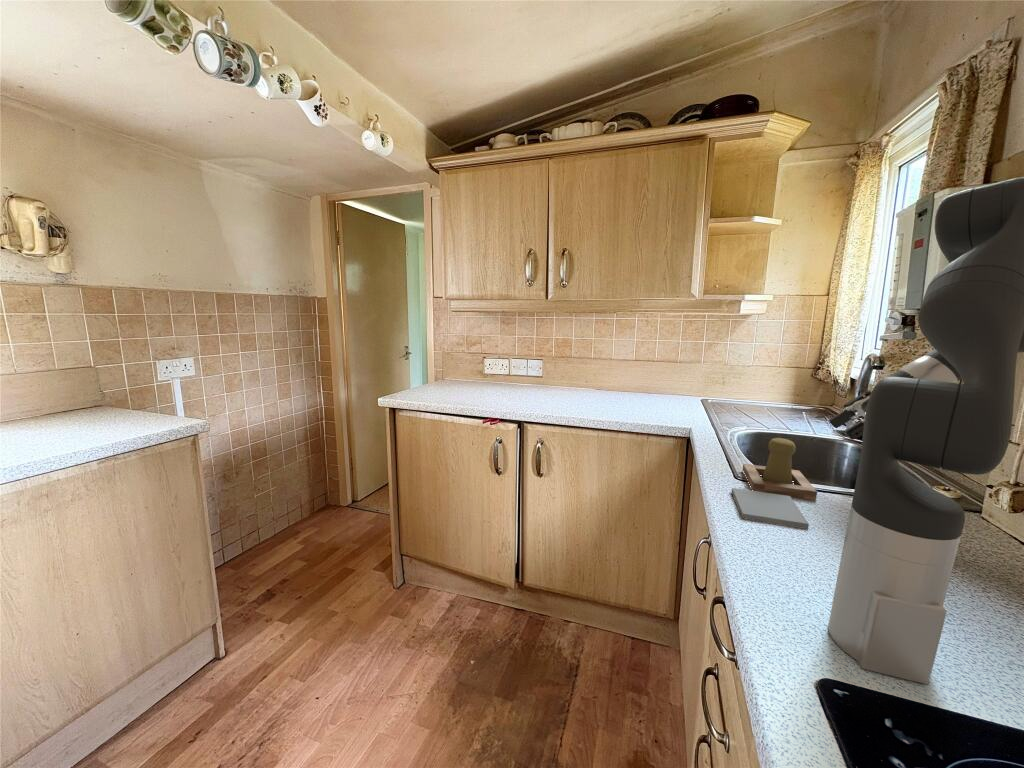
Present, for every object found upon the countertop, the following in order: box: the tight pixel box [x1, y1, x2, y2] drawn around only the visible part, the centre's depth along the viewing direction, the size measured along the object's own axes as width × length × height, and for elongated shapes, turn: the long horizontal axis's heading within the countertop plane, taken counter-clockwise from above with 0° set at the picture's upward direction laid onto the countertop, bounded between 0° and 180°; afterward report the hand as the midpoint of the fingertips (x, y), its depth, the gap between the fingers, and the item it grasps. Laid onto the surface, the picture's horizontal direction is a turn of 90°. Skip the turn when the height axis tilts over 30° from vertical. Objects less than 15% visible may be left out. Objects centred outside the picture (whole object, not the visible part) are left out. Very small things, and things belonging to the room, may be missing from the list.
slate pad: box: [731, 487, 810, 530], centre depth 84 cm, size 12×11×1 cm
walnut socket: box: [742, 463, 818, 501], centre depth 96 cm, size 12×12×2 cm
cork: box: [761, 437, 797, 485], centre depth 95 cm, size 6×6×11 cm
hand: (839, 430), depth 90 cm, fingers open, 8 cm apart
